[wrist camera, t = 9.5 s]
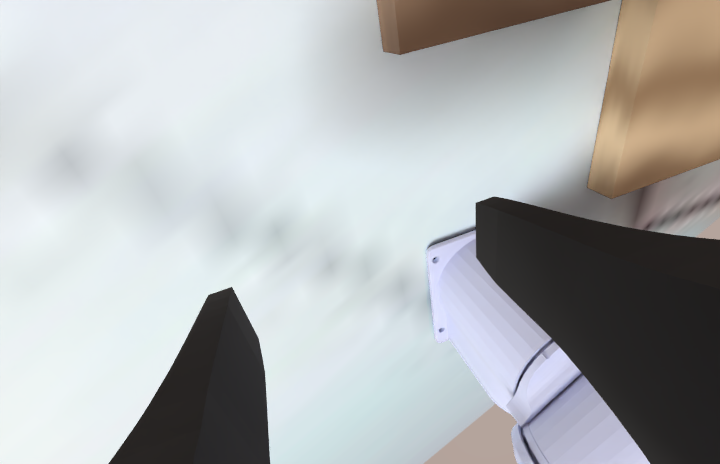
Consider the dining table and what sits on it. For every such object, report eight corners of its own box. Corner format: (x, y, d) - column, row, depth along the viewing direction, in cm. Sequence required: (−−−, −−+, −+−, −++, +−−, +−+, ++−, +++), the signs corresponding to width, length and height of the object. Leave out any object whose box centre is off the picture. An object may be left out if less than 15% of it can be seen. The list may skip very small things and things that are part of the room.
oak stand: (715, 141, 28) (746, 149, 26) (587, 187, 26) (611, 198, 24) (789, -53, 21) (836, -59, 20) (624, -11, 19) (661, -13, 18)
